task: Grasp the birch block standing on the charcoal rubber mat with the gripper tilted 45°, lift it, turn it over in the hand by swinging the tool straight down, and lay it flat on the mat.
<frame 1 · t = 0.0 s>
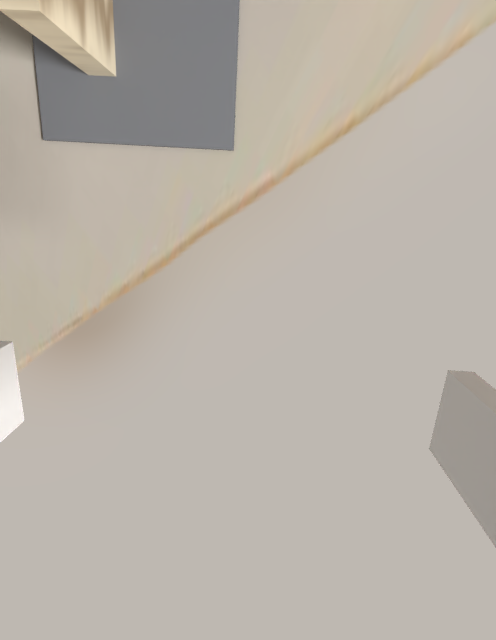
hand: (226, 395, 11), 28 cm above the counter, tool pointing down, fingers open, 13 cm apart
birch block: (99, 29, 32), resting on mat
mat: (135, 25, 32), on the counter
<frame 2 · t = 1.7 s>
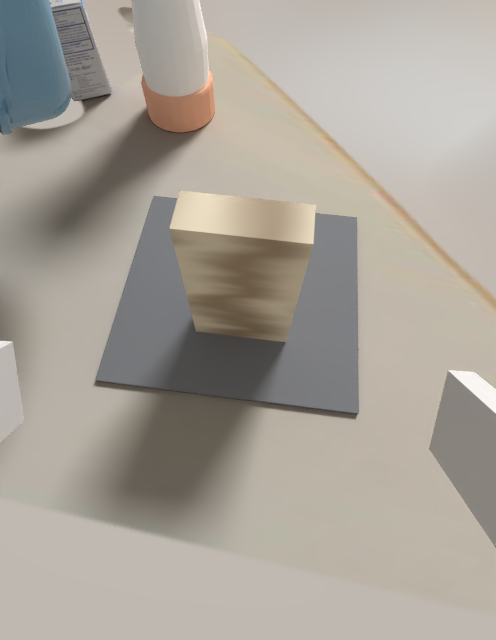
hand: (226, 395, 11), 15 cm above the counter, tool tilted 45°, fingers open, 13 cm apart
salt shaker: (182, 112, 41), on the counter
medicine box: (87, 80, 43), on the counter
birch block: (242, 322, 29), resting on mat
mat: (241, 291, 31), on the counter
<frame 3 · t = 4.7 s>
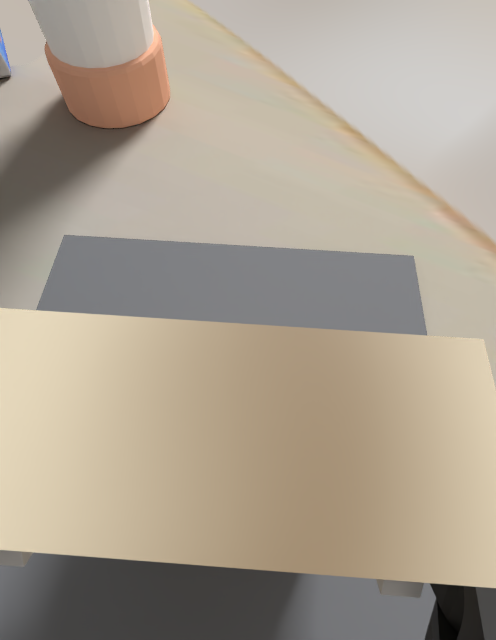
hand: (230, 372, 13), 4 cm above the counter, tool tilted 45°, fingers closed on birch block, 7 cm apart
salt shaker: (120, 98, 27), on the counter
birch block: (225, 488, 15), resting on mat, touching gripper
mat: (221, 412, 16), on the counter
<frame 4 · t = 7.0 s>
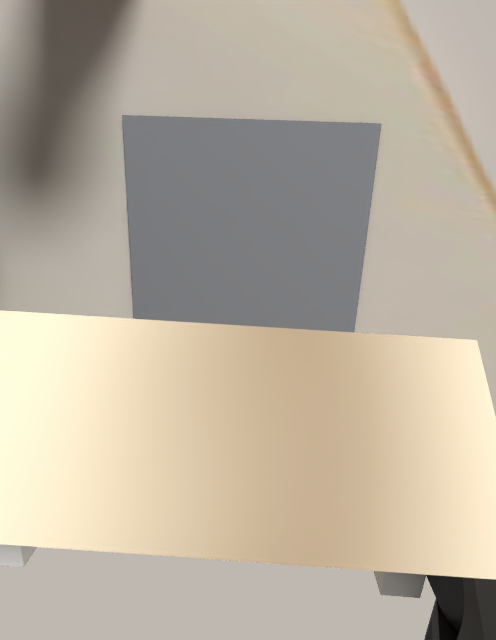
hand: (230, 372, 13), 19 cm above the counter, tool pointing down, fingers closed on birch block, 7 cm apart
birch block: (225, 487, 15), point 19 cm above the counter, tilted 45°, touching gripper
mat: (246, 243, 30), on the counter
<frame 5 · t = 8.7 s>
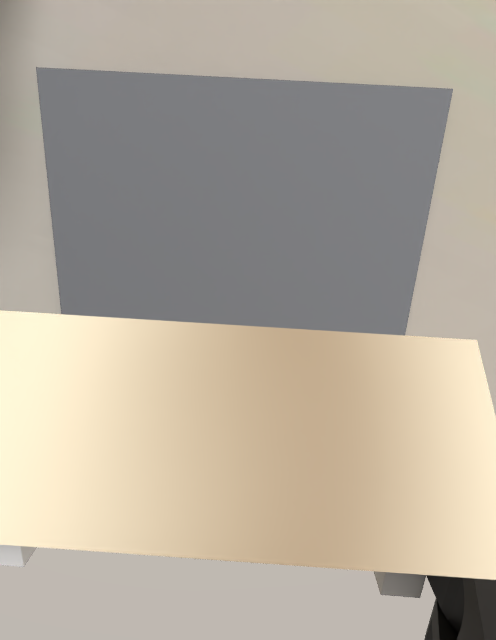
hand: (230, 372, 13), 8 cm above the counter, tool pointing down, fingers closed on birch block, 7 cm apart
birch block: (225, 487, 15), point 8 cm above the counter, tilted 45°, touching gripper
mat: (234, 272, 20), on the counter
when the fingers open (3 cm above the counter, at t = 10.1 s): birch block drops 1 cm and tips over, resting on mat.
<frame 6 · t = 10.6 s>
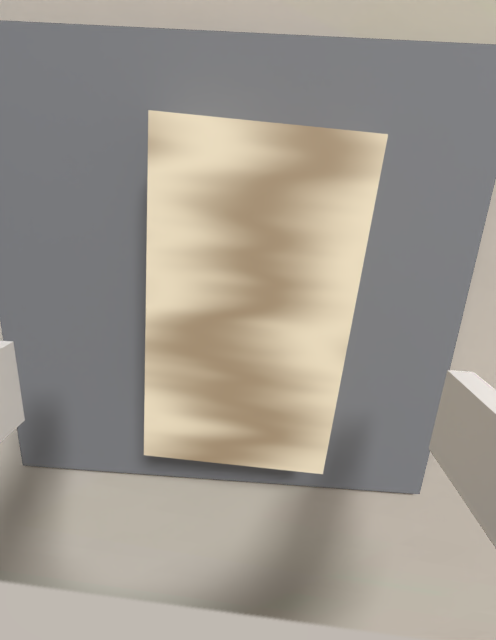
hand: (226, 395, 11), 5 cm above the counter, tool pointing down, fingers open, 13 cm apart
birch block: (235, 444, 16), point 2 cm above the counter, tilted 90°, touching mat
mat: (226, 294, 15), on the counter
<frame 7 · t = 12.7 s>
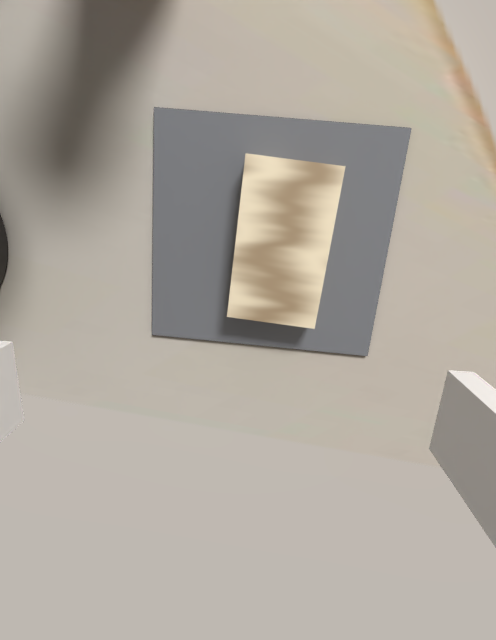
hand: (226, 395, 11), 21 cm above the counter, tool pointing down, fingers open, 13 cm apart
birch block: (270, 318, 31), point 2 cm above the counter, tilted 90°, touching mat
mat: (269, 241, 30), on the counter
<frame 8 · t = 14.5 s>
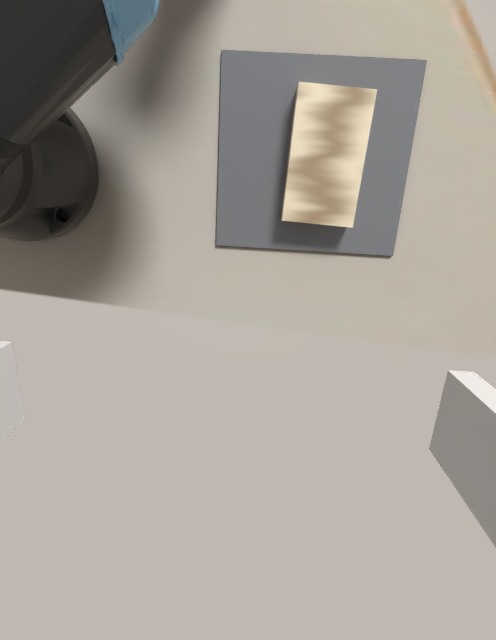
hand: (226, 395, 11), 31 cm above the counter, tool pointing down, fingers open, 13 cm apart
birch block: (315, 223, 38), point 2 cm above the counter, tilted 90°, touching mat
mat: (312, 160, 37), on the counter
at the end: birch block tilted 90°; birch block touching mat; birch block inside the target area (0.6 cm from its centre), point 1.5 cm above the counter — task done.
